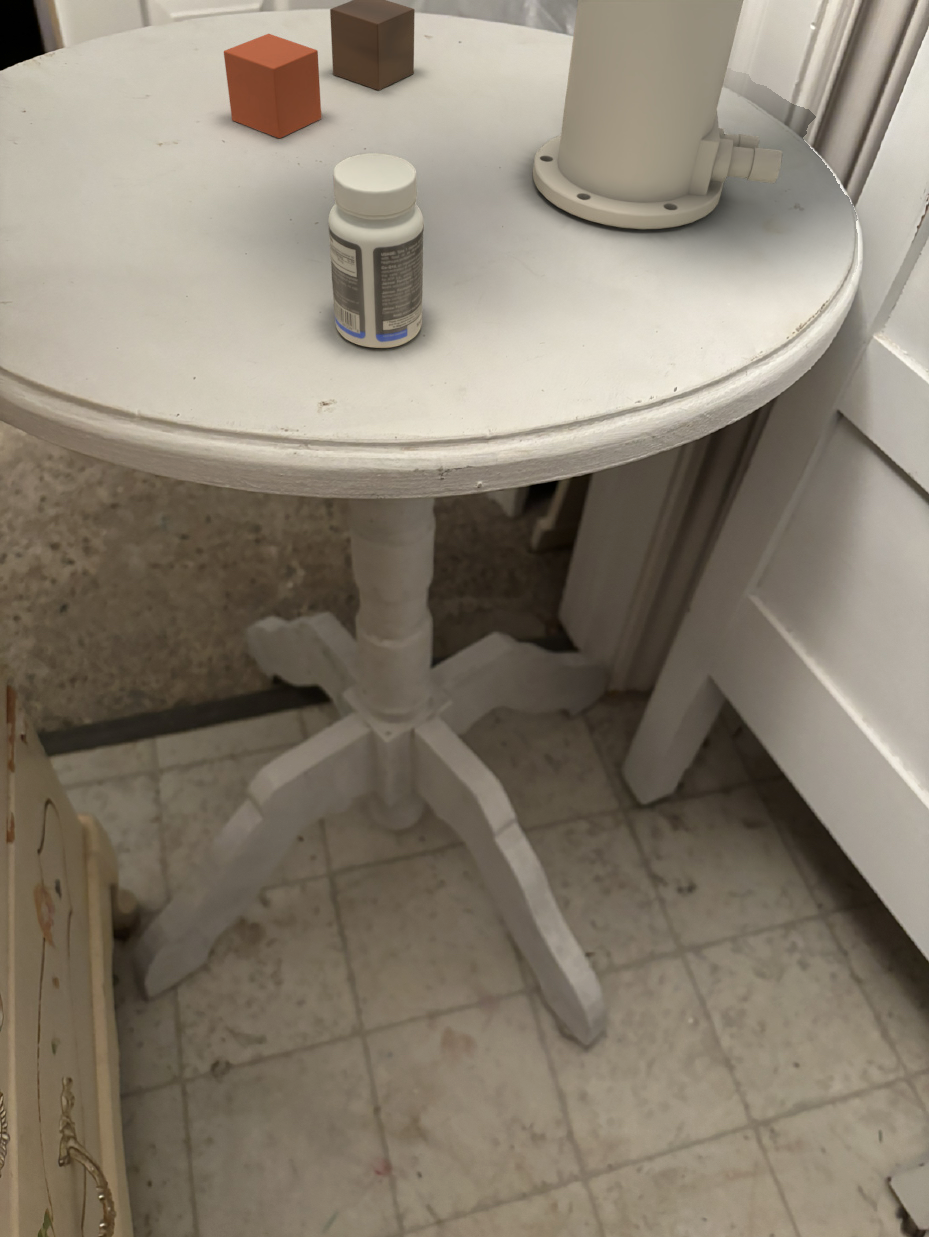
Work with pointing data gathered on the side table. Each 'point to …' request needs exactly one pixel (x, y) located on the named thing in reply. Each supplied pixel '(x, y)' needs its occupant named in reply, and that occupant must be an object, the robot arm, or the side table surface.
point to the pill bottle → (376, 250)
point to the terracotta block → (273, 85)
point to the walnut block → (372, 42)
